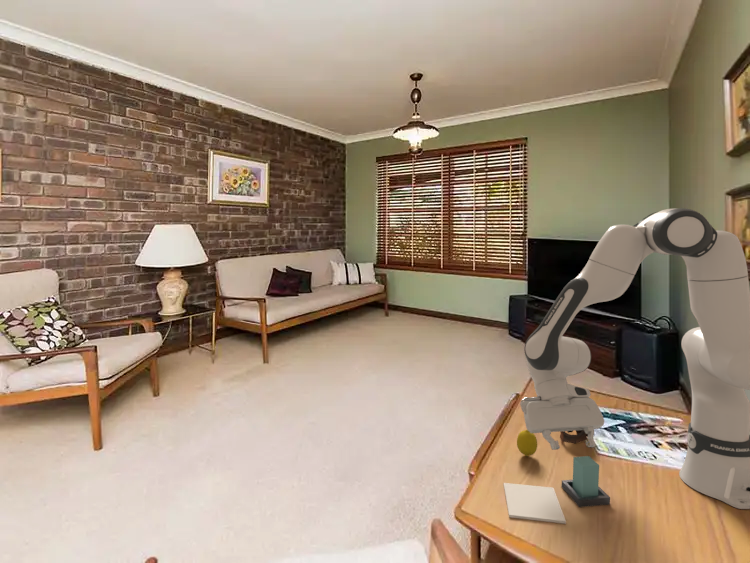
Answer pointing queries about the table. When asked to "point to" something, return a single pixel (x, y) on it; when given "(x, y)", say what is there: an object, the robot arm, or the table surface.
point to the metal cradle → (585, 501)
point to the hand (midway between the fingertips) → (573, 447)
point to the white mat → (533, 503)
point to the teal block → (585, 476)
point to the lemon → (527, 443)
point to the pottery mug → (573, 436)
